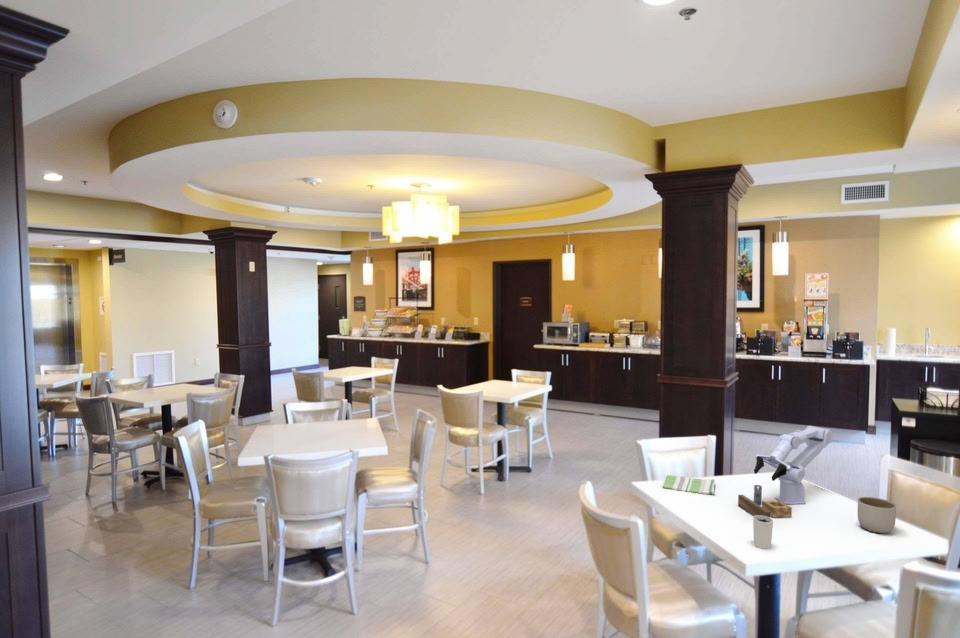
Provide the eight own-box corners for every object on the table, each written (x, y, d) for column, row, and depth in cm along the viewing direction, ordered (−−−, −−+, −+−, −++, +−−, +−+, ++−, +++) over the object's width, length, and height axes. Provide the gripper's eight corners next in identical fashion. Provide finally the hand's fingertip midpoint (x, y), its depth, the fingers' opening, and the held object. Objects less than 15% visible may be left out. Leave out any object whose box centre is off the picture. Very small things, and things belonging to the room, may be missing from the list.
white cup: (750, 540, 212) (751, 514, 211) (770, 542, 210) (771, 516, 210) (754, 547, 205) (754, 521, 205) (774, 550, 204) (774, 523, 203)
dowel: (758, 502, 251) (759, 484, 251) (762, 504, 248) (763, 487, 248) (752, 502, 251) (752, 485, 251) (756, 505, 248) (756, 487, 248)
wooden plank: (742, 505, 247) (742, 494, 247) (770, 524, 227) (770, 512, 227) (738, 506, 247) (738, 494, 247) (765, 524, 227) (765, 512, 227)
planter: (875, 536, 216) (876, 509, 215) (849, 524, 228) (850, 497, 228) (903, 535, 218) (904, 507, 217) (876, 522, 230) (877, 496, 230)
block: (779, 509, 242) (779, 500, 242) (791, 517, 234) (791, 507, 234) (761, 510, 241) (762, 501, 241) (773, 517, 234) (773, 508, 233)
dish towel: (714, 497, 259) (714, 489, 259) (662, 489, 269) (662, 482, 269) (715, 486, 275) (715, 478, 274) (666, 479, 284) (666, 472, 284)
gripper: (761, 442, 252) (746, 462, 246) (795, 454, 240) (779, 475, 235) (763, 453, 255) (748, 473, 249) (796, 465, 243) (781, 487, 238)
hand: (763, 475), depth 242 cm, fingers open, 7 cm apart
